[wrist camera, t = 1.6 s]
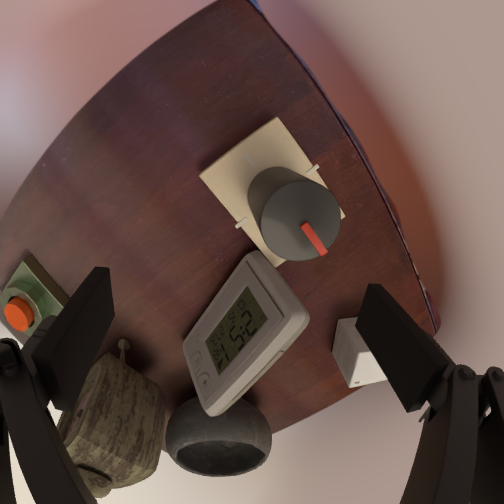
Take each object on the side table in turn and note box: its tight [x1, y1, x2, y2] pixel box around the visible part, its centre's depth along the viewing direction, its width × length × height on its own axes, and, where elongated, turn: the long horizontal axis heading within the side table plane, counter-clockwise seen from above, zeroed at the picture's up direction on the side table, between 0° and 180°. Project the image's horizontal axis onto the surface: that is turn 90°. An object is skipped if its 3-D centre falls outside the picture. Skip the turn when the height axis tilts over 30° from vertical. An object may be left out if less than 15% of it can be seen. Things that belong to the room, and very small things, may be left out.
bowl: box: [165, 396, 272, 477], centre depth 37 cm, size 15×15×10 cm
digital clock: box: [183, 250, 310, 416], centre depth 30 cm, size 16×9×11 cm, turn 134°
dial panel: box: [199, 117, 345, 268], centre depth 29 cm, size 12×10×3 cm
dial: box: [247, 167, 341, 261], centre depth 23 cm, size 6×6×9 cm
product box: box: [332, 317, 387, 388], centre depth 35 cm, size 6×6×7 cm
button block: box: [0, 254, 70, 338], centre depth 29 cm, size 10×8×4 cm
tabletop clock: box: [56, 339, 166, 502], centre depth 25 cm, size 14×9×25 cm, turn 134°
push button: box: [4, 297, 34, 331], centre depth 27 cm, size 4×4×2 cm
